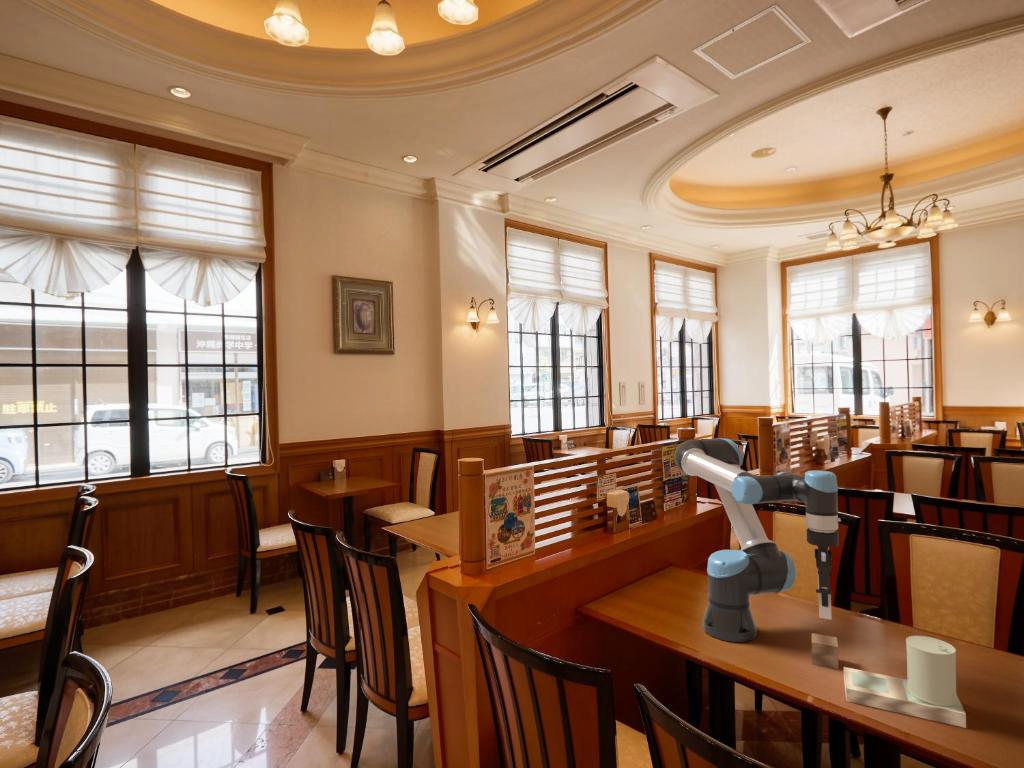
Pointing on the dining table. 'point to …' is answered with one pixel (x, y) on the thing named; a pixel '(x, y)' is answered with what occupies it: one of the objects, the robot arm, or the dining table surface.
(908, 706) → the board
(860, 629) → the dining table surface
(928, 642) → the can
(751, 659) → the dining table surface
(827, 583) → the robot arm
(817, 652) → the cube
